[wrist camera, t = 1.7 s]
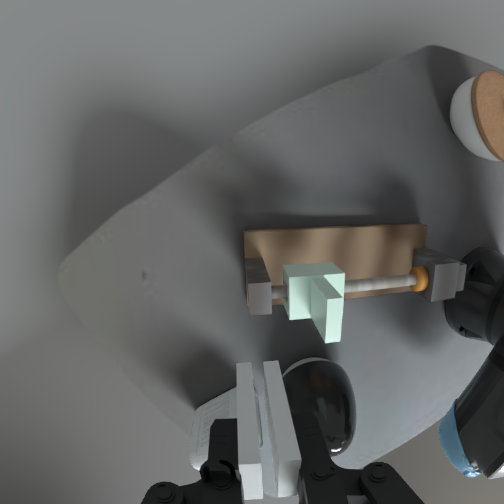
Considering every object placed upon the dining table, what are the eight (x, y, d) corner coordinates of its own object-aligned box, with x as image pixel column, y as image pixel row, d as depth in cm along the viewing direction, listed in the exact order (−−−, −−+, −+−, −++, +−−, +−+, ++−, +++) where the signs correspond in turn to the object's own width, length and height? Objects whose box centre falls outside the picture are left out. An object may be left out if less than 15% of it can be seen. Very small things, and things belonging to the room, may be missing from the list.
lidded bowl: (425, 83, 32) (473, 63, 21) (478, 84, 32) (523, 71, 21) (447, 167, 35) (501, 168, 24) (496, 158, 35) (544, 159, 24)
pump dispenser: (258, 389, 41) (268, 470, 26) (297, 335, 39) (327, 410, 24) (314, 409, 42) (338, 482, 28) (353, 360, 41) (396, 429, 26)
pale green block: (331, 261, 30) (367, 292, 21) (330, 299, 31) (362, 340, 22) (282, 265, 29) (301, 299, 21) (283, 303, 30) (300, 348, 22)
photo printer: (209, 423, 42) (205, 483, 30) (191, 408, 41) (181, 468, 29) (262, 395, 41) (271, 457, 29) (245, 378, 40) (248, 441, 28)
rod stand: (420, 223, 36) (472, 238, 26) (415, 286, 38) (461, 316, 28) (243, 230, 36) (246, 250, 25) (247, 302, 38) (251, 346, 27)
